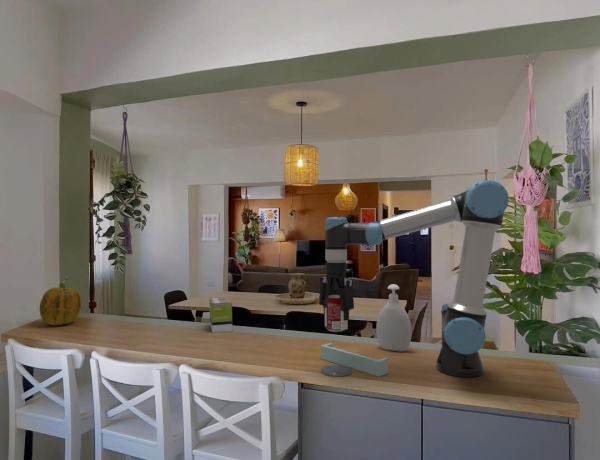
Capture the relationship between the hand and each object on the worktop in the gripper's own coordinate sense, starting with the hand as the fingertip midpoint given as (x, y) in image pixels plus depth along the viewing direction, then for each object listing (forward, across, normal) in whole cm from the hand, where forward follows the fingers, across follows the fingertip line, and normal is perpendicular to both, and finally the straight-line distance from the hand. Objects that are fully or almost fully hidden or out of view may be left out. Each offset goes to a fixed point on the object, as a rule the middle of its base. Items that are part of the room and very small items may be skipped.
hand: (336, 327), depth 141 cm
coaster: (+15, 0, 0) cm, 15 cm away
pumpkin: (+16, +149, +51) cm, 158 cm away
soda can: (+1, 0, 0) cm, 1 cm away
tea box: (+16, +82, -5) cm, 84 cm away
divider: (+15, 0, -9) cm, 18 cm away
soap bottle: (+15, +1, -37) cm, 40 cm away
